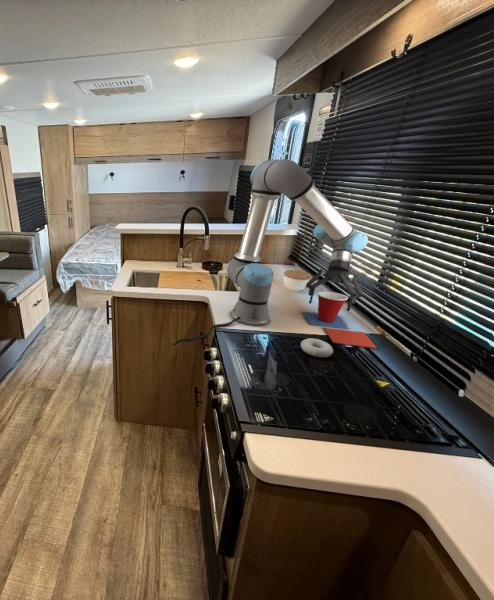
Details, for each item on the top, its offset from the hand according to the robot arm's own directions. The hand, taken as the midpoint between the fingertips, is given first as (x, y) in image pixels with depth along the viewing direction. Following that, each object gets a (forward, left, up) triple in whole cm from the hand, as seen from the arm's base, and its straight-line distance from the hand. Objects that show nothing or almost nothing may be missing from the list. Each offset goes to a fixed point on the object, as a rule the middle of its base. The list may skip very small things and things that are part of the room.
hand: (328, 306), depth 130 cm
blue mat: (+1, 0, -7) cm, 8 cm away
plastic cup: (+1, 0, -7) cm, 7 cm away
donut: (-28, -10, -8) cm, 31 cm away
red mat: (-7, -12, -7) cm, 16 cm away
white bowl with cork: (+26, +28, -8) cm, 39 cm away
